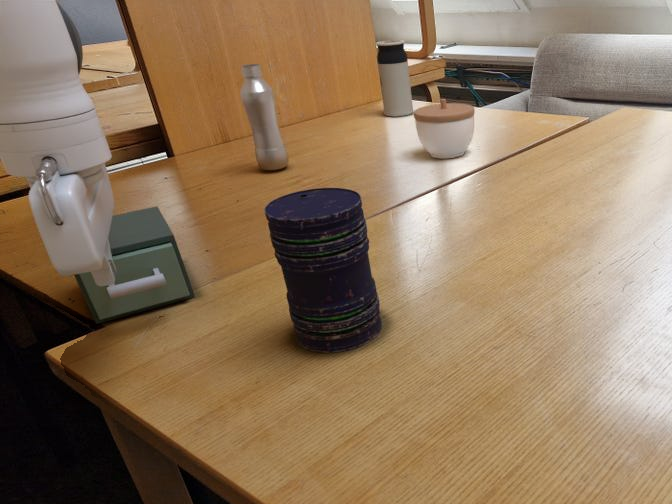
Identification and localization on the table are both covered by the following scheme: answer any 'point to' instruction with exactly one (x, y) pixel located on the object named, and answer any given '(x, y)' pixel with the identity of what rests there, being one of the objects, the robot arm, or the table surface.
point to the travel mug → (394, 78)
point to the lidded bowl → (445, 128)
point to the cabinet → (138, 247)
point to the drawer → (138, 281)
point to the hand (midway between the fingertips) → (107, 280)
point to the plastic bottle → (263, 119)
